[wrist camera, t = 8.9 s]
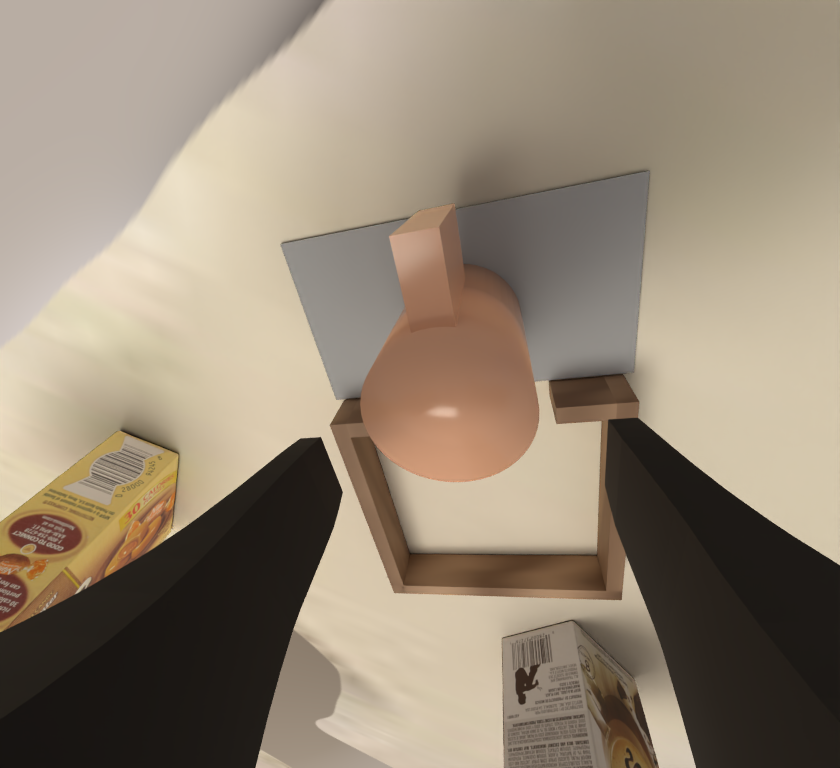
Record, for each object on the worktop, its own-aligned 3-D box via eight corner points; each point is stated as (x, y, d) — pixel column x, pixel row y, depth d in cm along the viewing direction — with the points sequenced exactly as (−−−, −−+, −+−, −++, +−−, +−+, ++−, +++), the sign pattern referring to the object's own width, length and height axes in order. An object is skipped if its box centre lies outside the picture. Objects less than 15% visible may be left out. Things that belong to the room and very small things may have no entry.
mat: (648, 170, 13) (649, 170, 13) (633, 371, 17) (633, 372, 17) (281, 243, 16) (280, 244, 16) (337, 398, 20) (336, 399, 20)
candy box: (117, 425, 24) (-327, 757, 11) (184, 452, 24) (-170, 805, 11) (121, 510, 28) (-186, 813, 16) (177, 532, 29) (-79, 846, 16)
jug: (525, 367, 17) (543, 479, 12) (417, 377, 19) (384, 484, 13) (511, 185, 14) (526, 213, 8) (379, 213, 15) (307, 255, 9)
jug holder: (623, 374, 17) (639, 401, 15) (610, 564, 23) (621, 600, 22) (344, 399, 20) (329, 425, 18) (401, 561, 26) (394, 592, 25)
